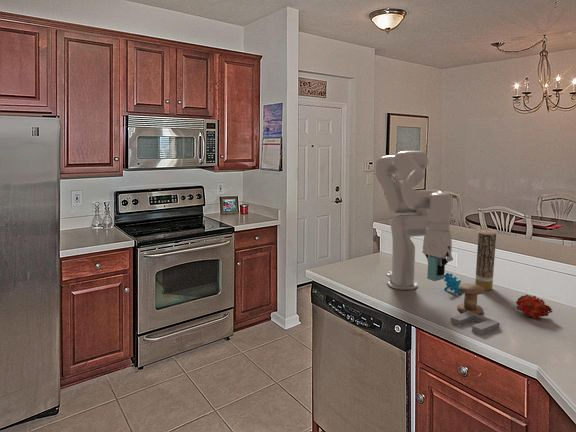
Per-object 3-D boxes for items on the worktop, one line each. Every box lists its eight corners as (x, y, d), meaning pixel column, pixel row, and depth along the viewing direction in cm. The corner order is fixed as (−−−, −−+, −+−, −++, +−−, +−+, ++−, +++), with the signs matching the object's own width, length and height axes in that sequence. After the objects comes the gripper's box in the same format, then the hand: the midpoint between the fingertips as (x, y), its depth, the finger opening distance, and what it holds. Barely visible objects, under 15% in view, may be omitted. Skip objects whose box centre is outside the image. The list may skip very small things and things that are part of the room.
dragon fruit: (512, 314, 165) (547, 328, 157) (509, 308, 159) (545, 321, 151) (521, 294, 166) (556, 307, 159) (518, 287, 160) (555, 299, 152)
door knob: (452, 309, 167) (453, 286, 165) (467, 304, 171) (468, 282, 170) (473, 317, 159) (474, 293, 158) (488, 311, 164) (489, 288, 162)
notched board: (450, 322, 155) (451, 317, 155) (468, 316, 160) (468, 311, 160) (481, 335, 145) (481, 329, 145) (499, 327, 150) (499, 322, 150)
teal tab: (427, 278, 166) (428, 255, 164) (436, 276, 169) (437, 253, 167) (434, 281, 163) (435, 258, 161) (443, 278, 166) (444, 255, 164)
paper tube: (493, 291, 185) (498, 233, 180) (476, 290, 186) (480, 233, 182) (490, 286, 192) (494, 230, 187) (473, 285, 193) (477, 229, 188)
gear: (455, 293, 178) (442, 272, 183) (445, 301, 182) (432, 280, 187) (469, 291, 185) (456, 271, 190) (458, 298, 189) (446, 278, 194)
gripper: (414, 223, 167) (412, 269, 171) (450, 231, 153) (447, 281, 157) (428, 221, 171) (426, 266, 175) (464, 228, 157) (461, 277, 160)
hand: (436, 273), depth 166 cm, fingers closed on teal tab, 3 cm apart
